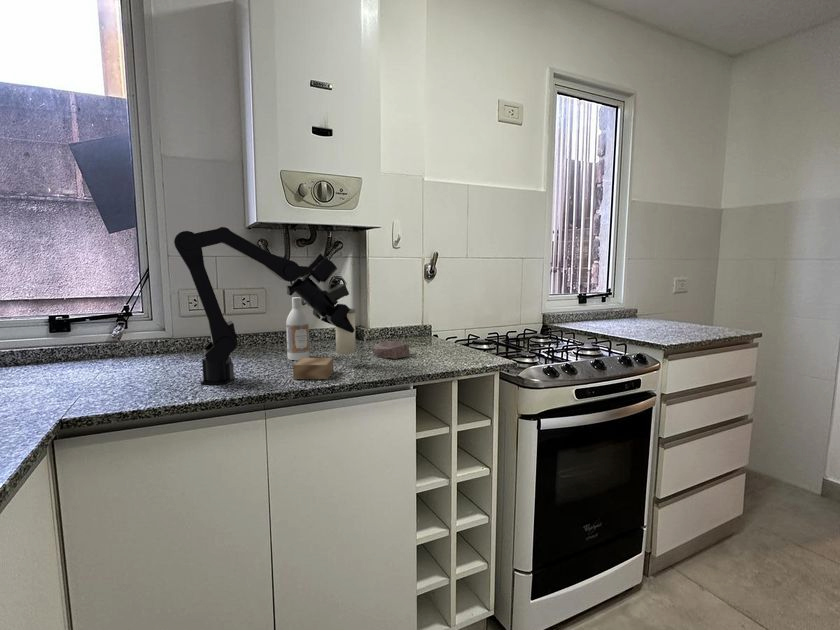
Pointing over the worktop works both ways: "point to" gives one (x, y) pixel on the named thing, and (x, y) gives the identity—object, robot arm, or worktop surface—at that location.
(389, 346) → the stone
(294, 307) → the bath foam
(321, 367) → the walnut box
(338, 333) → the tea tin
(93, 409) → the worktop surface
